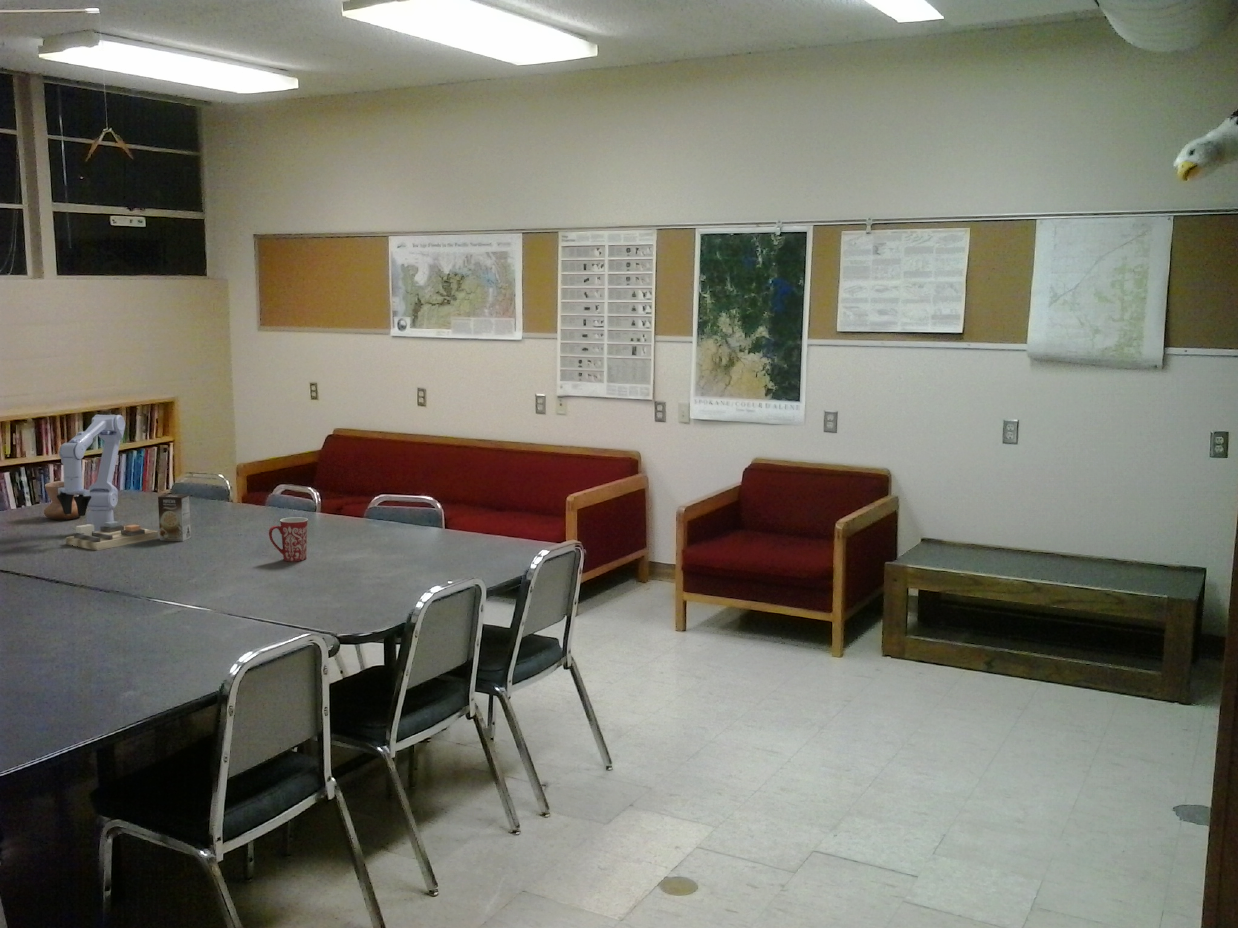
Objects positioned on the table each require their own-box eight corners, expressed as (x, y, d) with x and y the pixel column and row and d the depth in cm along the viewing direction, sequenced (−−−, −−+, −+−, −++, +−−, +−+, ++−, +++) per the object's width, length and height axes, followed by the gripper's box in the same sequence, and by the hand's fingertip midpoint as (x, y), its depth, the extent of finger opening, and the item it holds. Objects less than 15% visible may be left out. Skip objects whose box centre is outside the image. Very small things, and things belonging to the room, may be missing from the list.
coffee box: (158, 540, 388) (156, 496, 386) (168, 537, 395) (165, 493, 392) (183, 541, 387) (181, 497, 385) (192, 537, 394) (189, 494, 391)
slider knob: (76, 537, 381) (75, 526, 380) (89, 535, 385) (88, 524, 384) (81, 538, 379) (80, 527, 379) (94, 536, 383) (94, 524, 383)
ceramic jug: (45, 515, 432) (41, 480, 430) (85, 512, 439) (82, 478, 436) (44, 525, 416) (40, 488, 414) (86, 521, 423) (83, 485, 420)
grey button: (104, 526, 393) (104, 522, 392) (113, 524, 396) (113, 520, 396) (110, 527, 391) (110, 523, 391) (119, 526, 394) (119, 521, 394)
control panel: (66, 544, 382) (65, 533, 381) (127, 532, 402) (126, 521, 402) (97, 550, 373) (96, 539, 372) (158, 537, 393) (157, 527, 392)
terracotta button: (125, 530, 387) (124, 526, 386) (134, 528, 390) (133, 524, 389) (131, 531, 385) (131, 527, 384) (140, 529, 388) (140, 525, 388)
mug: (306, 555, 367) (305, 515, 366) (311, 560, 359) (310, 520, 357) (268, 558, 362) (266, 519, 360) (272, 564, 354) (270, 524, 352)
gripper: (49, 476, 382) (51, 514, 383) (76, 479, 375) (78, 518, 376) (67, 474, 388) (69, 512, 389) (94, 477, 381) (96, 515, 383)
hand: (74, 514), depth 383 cm, fingers open, 7 cm apart
